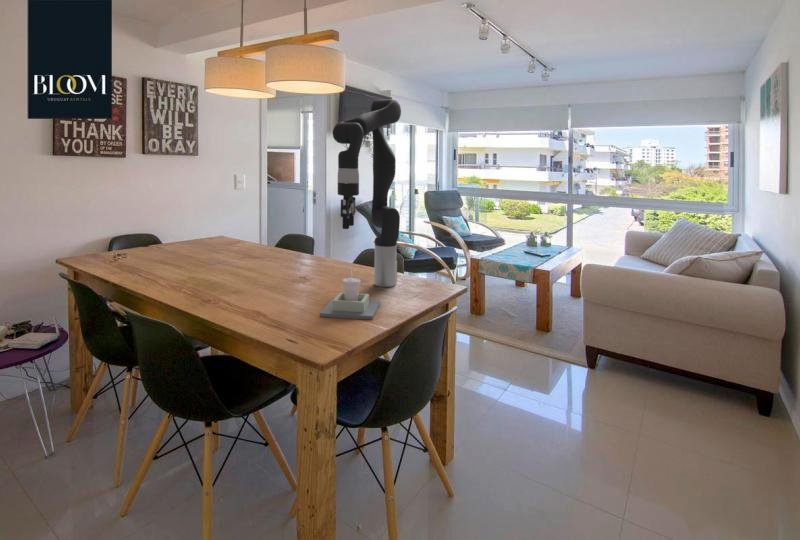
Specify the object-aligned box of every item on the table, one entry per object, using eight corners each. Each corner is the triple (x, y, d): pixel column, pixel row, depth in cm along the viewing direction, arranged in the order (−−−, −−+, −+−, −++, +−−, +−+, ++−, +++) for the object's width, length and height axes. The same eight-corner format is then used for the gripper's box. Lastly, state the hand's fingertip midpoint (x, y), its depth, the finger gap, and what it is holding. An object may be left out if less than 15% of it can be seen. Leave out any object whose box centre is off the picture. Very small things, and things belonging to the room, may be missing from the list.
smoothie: (361, 304, 174) (361, 266, 171) (360, 309, 168) (360, 270, 165) (343, 303, 174) (343, 265, 171) (341, 309, 168) (341, 269, 165)
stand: (332, 301, 181) (332, 289, 180) (380, 304, 179) (380, 291, 178) (319, 316, 163) (319, 303, 162) (372, 319, 162) (372, 306, 160)
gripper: (342, 180, 178) (342, 224, 182) (333, 182, 164) (333, 229, 168) (362, 181, 177) (362, 225, 181) (354, 182, 164) (354, 230, 167)
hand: (348, 227), depth 174 cm, fingers open, 8 cm apart
